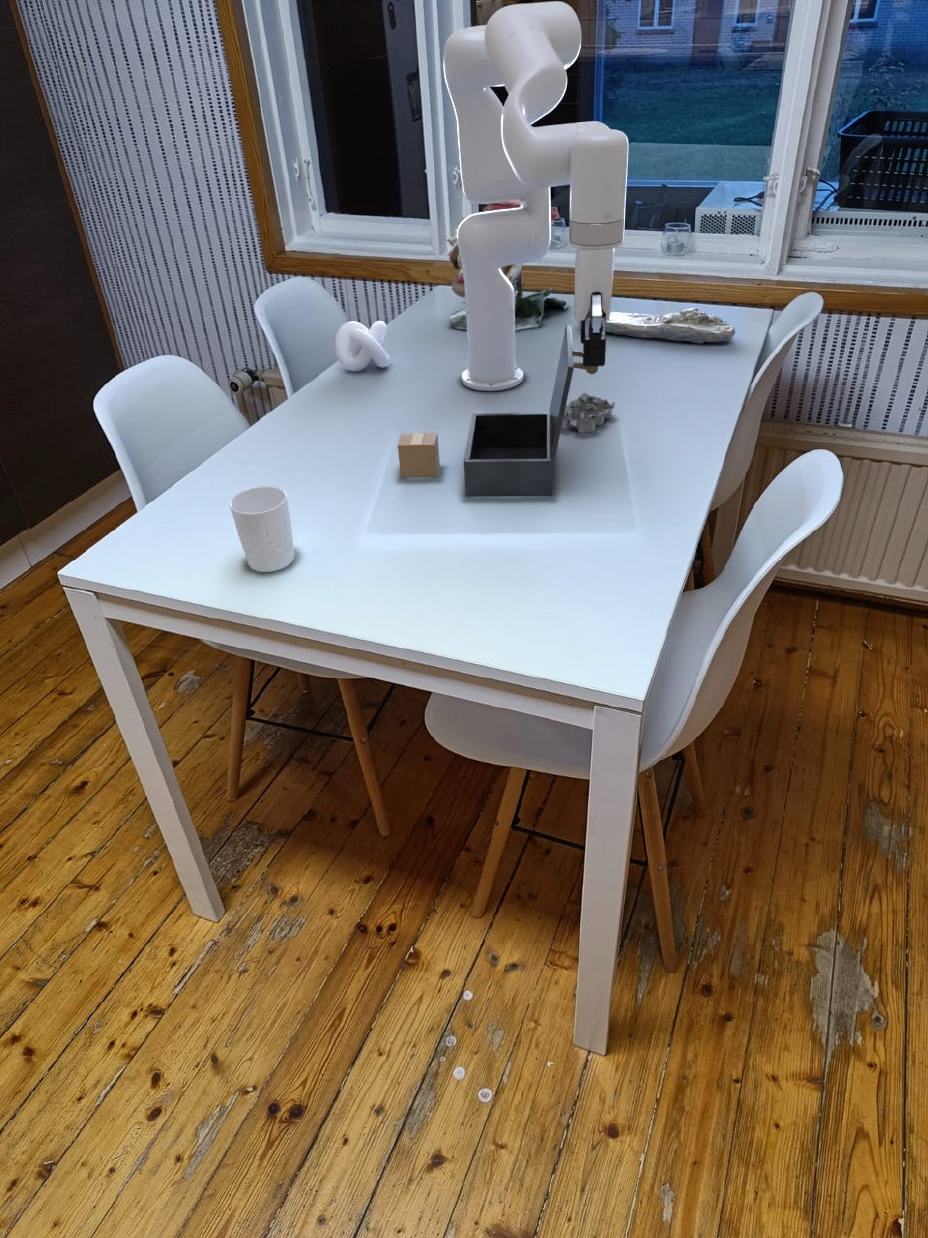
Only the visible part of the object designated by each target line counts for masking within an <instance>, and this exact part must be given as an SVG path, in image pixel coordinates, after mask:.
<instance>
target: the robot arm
mask: <svg viewBox="0 0 928 1238" xmlns="http://www.w3.org/2000/svg"><path fill="white" fill-rule="evenodd" d="M488 19H489V20H488V21H487V23H486V24H483V25H475V26H468V27H463V28H461V29H459V30H456V31H455V32H453V33H451V34H450V36H448V38H447V40H446V41H445V43H444V48H443V55H442V56H443V57H442V59H443V60H442V63H443V66H442V67H443V75H444V80H445V84H446V88H447V91H448V94H449V97H450V99H451V103H452V106H453V109H454V113H455V118H456V125H457V139H458V153H459V154H458V155H459V168H460V169H459V170H460V178H461V180H460V181H461V187H462V191H463V195H464V197H465V199H466V200H467V201H468V202H470V203H472V204H475V205H486V204H490V203H499V202H506V201H514V200H520V204H521V208H514V209H506V210H496V211H489V212H483V211H481V212H482V213H479V212H476V213H477V214H475V213H473V214H474V215H471V214H470V215H471V216H469V215H468V216H469V217H467V216H466V217H467V218H466V219H464V220H463V221H462V222H461V224H460V225H459V226H458V228H457V229H458V231H457V242H458V248H459V253H460V258H461V263H462V269H463V276H464V286H465V297H464V299H465V301H464V302H465V310H466V321H467V329H466V337H467V339H466V340H467V360H468V368H467V369H465V370H464V371H463V372H462V374H461V382H462V384H463V385H464V386H465V387H467V388H470V389H472V390H476V391H484V392H495V391H497V392H498V391H503V390H504V391H505V390H508V389H512V388H514V387H516V386H518V385H519V384H521V383H522V382H523V380H524V372H523V370H522V369H521V368H520V367H519V366H517V365H516V363H517V362H516V330H515V301H514V289H513V286H512V284H511V282H510V281H509V280H508V279H507V278H506V276H505V275H504V274H503V273H502V271H501V268H502V267H503V266H508V265H513V264H519V263H522V264H526V263H530V262H532V263H533V262H536V261H540V260H542V259H543V258H544V257H546V256H547V254H548V253H549V249H550V247H551V246H550V245H551V244H550V240H551V237H552V236H551V235H552V233H551V231H552V229H551V228H552V227H551V224H552V223H551V219H550V207H551V188H552V187H558V186H567V185H568V186H569V228H568V229H569V230H568V231H569V233H568V236H569V237H568V239H569V240H568V245H569V246H570V247H571V248H573V249H575V259H574V262H575V263H574V293H573V295H574V296H573V297H574V299H573V312H574V320H575V321H576V322H577V323H579V322H580V320H581V327H580V343H581V344H582V351H583V357H582V363H583V366H585V367H589V366H598V367H604V366H605V365H606V353H607V351H606V350H607V337H606V332H605V322H606V321H607V320H608V319H609V317H610V312H611V308H612V296H613V286H614V285H613V284H614V270H615V269H614V268H615V251H616V250H615V249H616V248H619V247H621V246H623V244H624V241H625V240H624V238H625V220H626V219H625V218H626V203H627V202H626V199H627V184H628V183H627V182H628V181H627V180H628V165H629V164H628V163H629V162H628V161H629V138H628V136H627V134H625V132H624V131H621V130H618V129H612V128H610V127H609V126H607V124H605V123H603V122H601V121H595V120H592V121H591V120H590V121H581V122H570V123H561V124H552V125H551V124H550V125H543V126H532V124H534V123H535V122H537V121H539V120H540V119H542V118H543V117H545V116H546V115H548V114H550V113H551V112H552V111H553V110H554V109H555V108H557V106H558V104H559V103H560V102H561V101H562V99H563V97H564V95H565V93H566V90H567V85H568V75H567V69H568V68H570V67H571V66H572V65H573V64H574V63H575V62H576V60H577V59H578V56H579V54H580V50H581V46H582V36H583V35H582V26H581V23H580V20H579V18H578V15H577V13H576V11H575V10H574V8H573V7H572V6H571V5H569V4H568V3H566V2H564V1H542V2H530V3H527V2H526V3H515V4H510V5H506V6H504V7H503V6H502V7H501V8H499V9H498V10H497V11H495V12H494V13H493V14H492V15H491V16H490V17H489V18H488ZM491 87H493V88H495V87H505V90H506V91H507V94H508V96H507V98H506V100H505V101H504V105H503V103H502V102H501V101H500V99H499V97H498V96H497V94H496V93H495V92H494V90H493V89H492V88H491ZM601 315H602V316H601Z"/></svg>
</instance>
